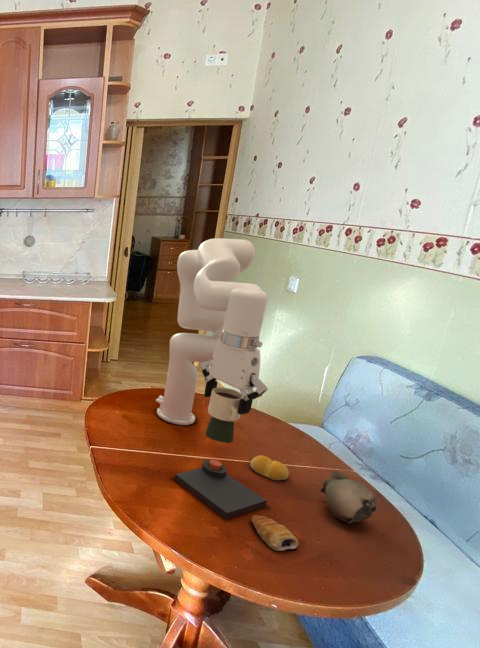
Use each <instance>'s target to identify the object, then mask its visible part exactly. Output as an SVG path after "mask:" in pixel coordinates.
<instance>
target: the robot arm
mask: <svg viewBox="0 0 480 648" xmlns="http://www.w3.org/2000/svg"><path fill="white" fill-rule="evenodd" d="M255 257H256V249H255V246H254V244H253V243H252V242H251V241H249V240H248V239H243V238H242V239H241V238H222V237H221V238H219V237H218V238H217V237H216V238H209V239H207V240H205V241H203V242H202V243H200V245H199V246H198V248H197V249H189V250H185V251H183V252H181V253H180V254H179V256H178V259H177V263H176V270H177V276H178V280H179V285H180V286H179V287H180V290H179V300H178V309H177V324H178V326H179V327H181V328H182V329H187V330H195V331H203V332H211V334H204V333H203V334H202V333H192V332H178V333H175V334H172V336H171V337H170V339H169V346H168V347H169V359H168V367H167V368H168V369H167V374H166V381H165V387H164V388H165V389H164V395H159V396H158V397H157V398H156V399H155V402H156V403H158V404H159V407H158V408H157V409H156V415H157V416H158V417H159V418H160V419H162V420H163V421H165V422H168V423H171V424H174V425H179V426H188V425H192V424H194V423H195V421H196V416H195V415H194V414H193V412H192V411H193V406H194V401H195V394H196V389H197V384H198V380H199V379H198V378H199V373H198V372H199V371H198V370H197V368H196V366H195V365H194V364H193V363H200V366H201V373H202V375H203V377H204V378H203V379H204V382H205V388H204V394H203V396H204V397H205V398H210V397H211V392H212V390H213V388H217V387H218V381H219V382H221V383H223V384H226V385H228V386H230V387H232V388H234V389H237V390H239V392H240V393H241V394H242V396H243V398H242V399H240V403H239V407H238V414H240V415H241V416H242V415H245V414H249V413H250V412H251V410H252V406H253V401H254V400H256V399H258V398H260V397H262V396H263V395H264V394H265V393H266V392H267V391H268V387H267V385H266V384H265V383H263V381H262V380H261V379H260V371H261V349H259V348H262V346H263V342H262V341H260V336H261V335H260V334H261V330H262V326H263V321H264V317H265V313H266V308H267V304H268V294H267V293H266V292H265V291H263V290H262V289H261V287H260V286H259V285H258V284H255V283H250V282H236V281H234V280H236V279H237V277H238V276H239V275H240V274H241V273H243V272H245V271H246V270H247V269H248V268H250V267H251V266H252V265H253V263H254V261H255ZM254 388H256V389H255V390H254Z"/></svg>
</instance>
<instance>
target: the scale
mask: <svg viewBox="0 0 480 648" xmlns="http://www.w3.org/2000/svg"><path fill="white" fill-rule="evenodd" d="M210 460H211V459H207V460H203V462H202V465H201V467H199V468H194V469H191V470H187V471H183V472H179V473H175V476H174V481H175V482H177V483H178V484H179V485H180V486H182V487H183V488H184V489H185V490H187V491H188V492H190V493H191V494H192V495H193V496H195V497H196V498H197V499H199V500H200V501H201V502H202V503H204V504H205V505H207V507H210V509H212V511H214V512H216V514H218V515H220V516H221V517H222V518H223V519H225V520H228V519H231V518H234V517H237V516H240V515H244V514H247V513H249V512H253V511H256V510H258V509H261V508H265V507H266V505H267V502H268V500H267V499H266V498H264V497H262V496H261V495H259V494H258V493H257V492H255V491H254V490H252V489H250V488H249V487H248V486H246V485H245V484H243V483H242V482H240V481H238V480H237V479H236V478H234V477H232V476H231V475H229V474H228V468H227V467H226V465H224V464H223V463H221V464H222V466H221V470H214V469H211V468H210V467H209V461H210Z"/></svg>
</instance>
